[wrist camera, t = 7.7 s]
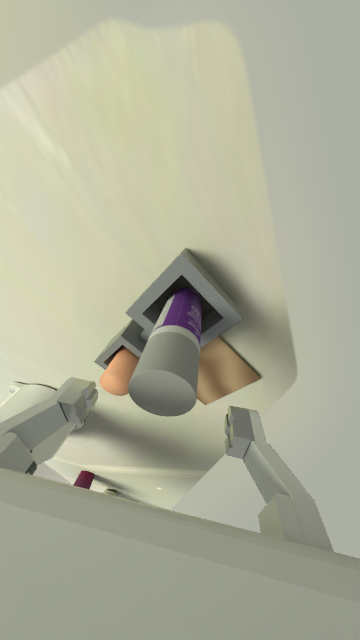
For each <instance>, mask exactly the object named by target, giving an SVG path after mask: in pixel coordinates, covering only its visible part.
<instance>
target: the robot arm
mask: <svg viewBox="0 0 360 640" xmlns="http://www.w3.org/2000/svg"><path fill="white" fill-rule="evenodd" d="M95 387H96V384H95V382H92V381H87V380H82V379H77V378H72V377H71V378H69V379H67V381H66V382H65V383H64V384H63V385H62V386H61V387H60V388H59V389H58V390H57V391H56V390H54V389H51V388H49V387H46V386H42V385H35V384H31V385H26V384H21V383H17V382H13V383H12V384H11V385H10V386H9V389H8V396H7V399H6V400H5V401H4V402H3V403H2V404H1V405H0V640H360V559H359V558H355V557H351V556H347V555H343V554H339V553H335V552H334V551H333V548H332V545H331V543H330V540H329V538H328V535H327V533H326V530H325V527H324V524H323V522H322V519H321V517H320V514H319V511H318V509H317V506H316V503H315V501H314V500H313V498H312V497H311V496H310V494H309V493H308V492H307V491H306V489H305V488H304V487H303V486H302V484H301V483H300V482H299V480H298V479H297V478H296V477H295V476H294V474H293V473H292V472H291V470H290V469H289V468H288V467H287V465H286V464H285V463H284V461H283V460H282V459H281V458H280V457H279V455H278V454H277V453H276V451H275V450H274V449H273V448H272V446H271V445H270V444H267V443H266V439H265V435H264V431H263V428H262V424H261V420H260V416H259V413H258V411H256V410H250V409H246V408H240V407H234V406H229V407H228V414H226V417H225V433H226V435H227V438H226V454H227V455H229V456H233V457H237V458H241V459H243V461H244V463H245V465H246V467H247V468H248V470H249V472H250V474H251V476H252V478H253V480H254V481H255V483H256V485H257V487H258V489H259V490H260V492H261V494H262V496H263V498H264V500H265V502H266V503H267V505H266V506H265V507H264V509H263V510H262V511H261V512H260V513H259V515H258V518H259V524H260V531H261V533H257V532H253V531H249V530H245V529H241V528H237V527H233V526H230V525H226V524H222V523H218V522H214V521H210V520H206V519H202V518H198V517H194V516H190V515H186V514H182V513H179V512H175V511H171V510H167V509H163V508H159V507H155V506H151V505H147V504H143V503H139V502H136V501H132V500H128V499H124V498H120V497H116V496H112V495H108V494H104V493H100V492H96V491H92V490H89V489H85V488H81V487H77V486H73V485H69V484H65V483H61V482H57V481H53V480H49V479H45V478H42V477H38V476H33V473H34V471H35V470H36V469H37V465H39V464H40V463H42V462H44V461H46V460H48V459H50V458H52V457H53V456H54V455H55V454H56V452H57V451H58V450H59V448H60V447H61V445H62V444H63V442H64V441H65V440H66V438H67V437H68V435H69V434H70V432H71V431H72V430H75V429H78V428H81V427H82V426H83V424H84V420H85V418H86V417H87V415H88V414H89V409H90V408H92V407H93V406H94V404H95V403H96V401H97V398H98V391H97V390H96V389H95Z"/></svg>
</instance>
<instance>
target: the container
mask: <svg viewBox="0 0 360 640" xmlns="http://www.w3.org/2000/svg"><path fill="white" fill-rule="evenodd" d="M201 313H202V300H201V297H200V295H199V293H198V292H197V291H196V290H194V289H192V288H190V287H179V288H177V289H175V290H174V291H173V292H172V293H171V295H170V296H169V298H168V300H167V302H166V304H165V306H164V308H163V310H162V312H161V315H160V317H159V319H158V321H157V323H156V325H155V327H154V329H153V331H152V333H151V335H150V337H149V339H148V341H147V344H146V346H145V348H144V350H143V353H142V355H141V357H140V359H139V362H138V364H137V366H136V368H135V371H134V373H133V375H132V377H131V380H130V382H129V385H128V391H129V394H130V397H131V398H132V400H133V401H134V402H135V403H136V404H137V405H138V406H139V407H141V408H142V409H144V410H146V411H148V412H150V413H153V414H156V415H160V416H178V415H182V414H185V413H187V412H188V411H190V410H191V409H192V408H193V407H194V405H195V403H196V397H197V384H198V371H199V358H200V343H201Z"/></svg>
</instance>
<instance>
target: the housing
mask: <svg viewBox="0 0 360 640" xmlns="http://www.w3.org/2000/svg"><path fill="white" fill-rule="evenodd" d="M181 275H183V276H184V277H185V278H186V279H187V280H188V281H189V282H190V284H191V285H192V286H193V287H194V288H195V289H196V290H197V291H198V292H199V293H200V294H201V295H202V296H203V297H204V298H205V299H206V300H207V301H208V302H209V303H210V304H211V305H212V306H213V307H214V308H215V309H214V310H213V311H212V312H210V313H209V314H208V315H207V316H205V317H204V318H203V319H201V343H200V348H201V347H203V346H204V345H205V344H207V343H208V342H210V341H211V340H213V339H214V338H216V337H217V336H219V335H220V334H222V333H223V332H225V331H226V330H228V329H229V328H231V327H232V326H233V325H235V324H236V323H238V322H239V321H241V320H242V316H241V314H240V311H239V309H238V306H237V304H236V303H235V302H234V301H233V300H232V299H231V298H230V297H229V296H228V294H227V293H226V292H225V291H224V290H223V289H222V288H221V287H220V286H219V285H218V283H217V282H216V281H215V280H214V279H213V278H212V277H211V276H210V275H209V273H208V272H207V271H206V270H205V269H204V268H203V267H202V266H201V265H200V264H199V262H198V261H197V260H196V259H195V258H194V257H193V256H192V255H191V254H190V253H189V251H188V250H187V249H186V248H185V249H184V250H183V252H182V253H181V254H180V255H179V256H178V257H177V258H176V259H175V260H174V261H173V262H172V263H171V264H170V265H169V266H168V267H167V269H166V270H165V271H164V272H163V273H162V274H161V275H160V276H159V277H158V278H157V279H156V280H155V281H154V282H153V283H152V285H151V286H150V287H149V288H148V289H147V290H146V291H145V292H144V293H143V294H142V295H141V296H140V297H139V298H138V299H137V300H136V302H135V303H134V304H133V305H132V306H131V307H130V308H129V309H128V310H127V312H126V314H127V315H128V316H130V317H131V318H132V320H131V321H130V322H129V323H128V324H127V325H126V326H125V327H124V328H123V329H122V330H121V331H120V332H119V333H118V334H117V335H116V336H115V337H114V338H113V339H112V340H111V341H110V343H109V344H108V345H107V346H106V348H105V349H104V350H103V351H102V353H101V354H100V355H99V356H98V357H97V359H96V360H95V361H94V362H95V363H97V364H98V365H100V366H101V367H102V368H104V369H105V370H106V369H107V367H108V366H109V364H110V363H111V361H112V360H113V358H114V357H115V356H116V354H117V353H118V351H119V350H120V348H121V347H122V345H123V346H125V347H126V348H127V349H129V350H130V351H131V352H132V353H134V354H135V355H136V356H138V357H139V358H140V357H141V355H142V353H143V350H144V348H145V346H146V344H147V341H148V339H149V337H150V335H151V333H152V331H153V329H154V327H155V325H156V323H157V321H158V319H159V317H160V315H161V312H162V311H161V310H160V309H159V308H158V307H157V306H156V305H154V304H153V302H154V301H155V300H156V299H157V298H158V297H159V296H160V295H161V294H162V293H163V292H164V291H165V290H166V289H167V288H168V287H169V286H170V285H171V284H172V283H173V282H174V281H176V280H177V279H178V278H179V277H180V276H181Z"/></svg>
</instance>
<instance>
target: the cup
mask: <svg viewBox="0 0 360 640" xmlns="http://www.w3.org/2000/svg"><path fill="white" fill-rule="evenodd" d="M93 478H94V474H92V473H91V472H88V471H81V473H80V474H79V476H78V478H77V480H76V482H75V483H74V485H73V486H77V487H81V488H85V489H90V486H91V483H92V481H93Z"/></svg>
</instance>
